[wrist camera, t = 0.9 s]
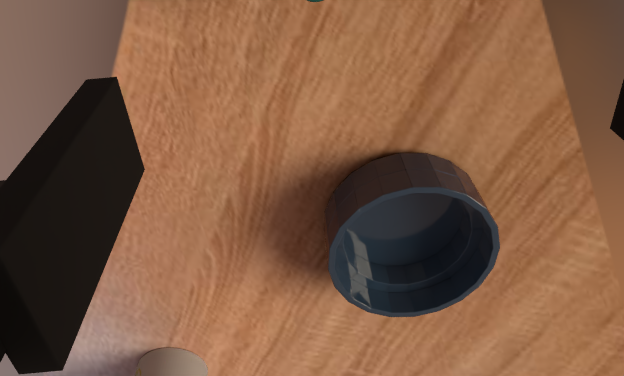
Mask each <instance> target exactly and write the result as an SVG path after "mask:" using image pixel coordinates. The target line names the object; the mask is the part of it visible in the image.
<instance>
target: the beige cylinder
mask: <svg viewBox="0 0 624 376" xmlns="http://www.w3.org/2000/svg"><path fill="white" fill-rule="evenodd" d="M207 374H208V369H207V365H206V364H205V362H204V361H203V360H202V359H201V358H200V357H199V356H198V355H196V354H194V353H192V352H190V351H187V350H184V349H179V348H161V349H156V350H153V351H150V352H148V353H147V354H145V355H144V356H143V357H142V358H141V359H140V360H139V362H138V365H137V369H136V373H135V376H207Z"/></svg>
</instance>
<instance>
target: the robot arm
mask: <svg viewBox="0 0 624 376" xmlns="http://www.w3.org/2000/svg"><path fill="white" fill-rule="evenodd" d="M610 129H612V130H613V131H614V132H615V133H616V134H617V135H618V136H619V137H621V138H622V139H623V140H624V80H623V84H622V88H621V91H620V94H619V98H618V102H617V105H616V109H615V112H614V116H613V119H612V123H611V127H610ZM144 170H145V169H144V166H143V162H142V159H141V156H140V152H139V149H138V146H137V142H136V139H135V136H134V132H133V129H132V126H131V123H130V119H129V116H128V113H127V109H126V106H125V103H124V99H123V96H122V93H121V89H120V86H119V83H118V80H117V77H110V78H99V79H88V80H86V81H85V82H84V83H83V85H82V86H81V87H80V88H79V90H78V91H77V92H76V93H75V94H74V96H73V97H72V98H71V99H70V101H69V102H68V103H67V105H66V106H65V107H64V108H63V110H62V111H61V112H60V113H59V115H58V116H57V117H56V118H55V120H54V121H53V122H52V123H51V125H50V126H49V127H48V128H47V130H46V131H45V132H44V133H43V135H42V136H41V137H40V138H39V140H38V141H37V142H36V143H35V145H34V146H33V147H32V148H31V150H30V151H29V152H28V153H27V155H26V156H25V157H24V158H23V160H22V161H21V162H20V163H19V165H18V166H17V167H16V168H15V170H14V171H13V172H12V173H11V175H10V176H9V177H8V178H7V180H5V181H4V180H3V181H0V362H1V360H2V358H3V356H4V354H5V353H6V354H7V356H8V358H9V359H10V361H11V362H12V364H13V365H14V367H15V369H16V370H17V372H18V373H19V374H27V373H39V372H51V371H62V370H63V368H64V365H65V363H66V361H67V358H68V356H69V353H70V351H71V348H72V346H73V343H74V341H75V339H76V336H77V334H78V331H79V329H80V326H81V324H82V321H83V319H84V317H85V314H86V312H87V309H88V307H89V304H90V302H91V299H92V297H93V295H94V292H95V290H96V287H97V285H98V282H99V280H100V277H101V275H102V273H103V270H104V268H105V265H106V263H107V260H108V258H109V255H110V253H111V251H112V248H113V246H114V243H115V241H116V238H117V236H118V233H119V231H120V229H121V226H122V224H123V221H124V219H125V216H126V214H127V211H128V209H129V207H130V204H131V202H132V199H133V197H134V194H135V192H136V189H137V187H138V185H139V182H140V180H141V177H142V175H143V172H144Z"/></svg>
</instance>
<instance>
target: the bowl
mask: <svg viewBox="0 0 624 376" xmlns="http://www.w3.org/2000/svg"><path fill="white" fill-rule="evenodd" d="M324 237H325V246H326V255H327V264H328V270H329V273H330V276H331V278H332V281H333V284H334V286H335V288H336V289H337V290H338V291H339V292H340V293H341V294H342V295H343V296H344V298H345V299H346V300H347V301H348V302H350V303H352V304H354V305H355V306H357V307H359V308H361V309H363V310H365V311H367V312H370V313H374V314H379V315H383V316H388V317H415V316H420V315H424V314H428V313H433V312H437V311H440V310H442V309H444V308H447V307H449V306H451V305H453V304H455V303H457V302H459V301H461V300H463V299H464V298H465V297H467V296H468V295H469V294H470V293H472V292H473V291H474V290H475V289H477V288H478V287H479V286H480V285H481V284H482V283H483V281H484V280H485V279H486V277H487V276H488V274H489V273H490V272H491V270H492V269H493V267H494V265H495V262H496V259H497V255H498V252H499V249H500V242H499V233H498V226H497V224H496V222H495V221H494V219H493V217H492V215H491V213H490V212H489V210H488V208H487V206H486V205H485V203H484V201H483V199H482V197H481V196H480V194H479V192H478V190H477V189H476V187H475V185H474V184H473V182H472V180H471V179H470V177H469V175H468V174H467V173H466V172H465V171H463V170H462V169H460V168H459V167H458V166H456V165H455V164H454V163H452V162H451V161H449V160H446V159H443V158H440V157H437V156H433V155H430V154H427V153H400V154H399V153H398V154H395V155H391V156H387V157H384V158H380V159H376V160H374V161H371V162H369V163H368V164H366V165H364V166H363V167H361V168H359V169H357V170H356V171H354V172H352V173H351V174H350V175H349V176H348V177H347V178H346V179H345V180H344V181H343V182H342V183H341V184H340V186H339V187H338V188H337V189H336V190H335V191H334V192H333V195H332V197H331V199H330V201H329V203H328V205H327V208H326V210H325V218H324Z"/></svg>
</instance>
